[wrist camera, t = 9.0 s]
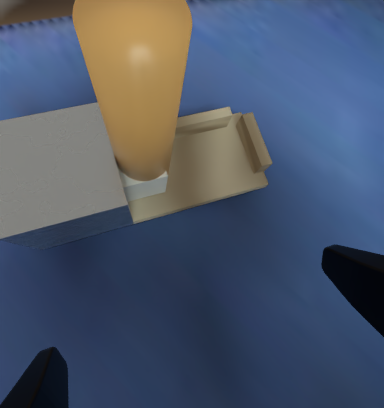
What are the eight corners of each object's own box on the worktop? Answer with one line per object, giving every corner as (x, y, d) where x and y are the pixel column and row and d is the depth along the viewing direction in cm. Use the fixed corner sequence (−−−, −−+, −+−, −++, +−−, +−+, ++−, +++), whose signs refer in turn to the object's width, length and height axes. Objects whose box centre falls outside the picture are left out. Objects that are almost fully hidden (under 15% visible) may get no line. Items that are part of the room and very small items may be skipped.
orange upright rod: (160, 148, 21) (173, -35, 9) (173, 189, 20) (207, 56, 8) (49, 173, 19) (-127, -4, 7) (59, 219, 18) (-115, 112, 6)
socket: (112, 145, 21) (99, 101, 16) (134, 224, 20) (127, 204, 15) (23, 165, 20) (-23, 125, 15) (41, 250, 19) (-3, 239, 13)
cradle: (238, 117, 23) (247, 100, 21) (264, 187, 22) (277, 176, 20) (112, 145, 21) (107, 129, 19) (134, 224, 20) (131, 217, 18)
